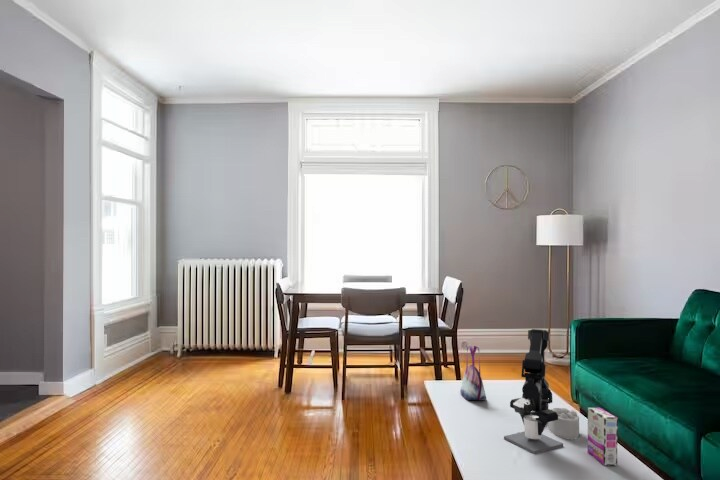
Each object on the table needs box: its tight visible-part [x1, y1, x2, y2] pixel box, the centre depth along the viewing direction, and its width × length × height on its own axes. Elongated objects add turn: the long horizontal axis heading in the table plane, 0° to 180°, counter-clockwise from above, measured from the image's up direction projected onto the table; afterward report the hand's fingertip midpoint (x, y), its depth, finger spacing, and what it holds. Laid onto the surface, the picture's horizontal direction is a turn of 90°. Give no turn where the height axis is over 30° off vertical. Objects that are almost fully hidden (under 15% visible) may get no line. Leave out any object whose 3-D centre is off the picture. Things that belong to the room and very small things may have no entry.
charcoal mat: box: [503, 430, 564, 455], centre depth 183 cm, size 15×15×1 cm
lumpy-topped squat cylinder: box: [547, 407, 580, 440], centre depth 193 cm, size 10×13×9 cm
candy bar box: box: [586, 406, 619, 467], centre depth 170 cm, size 11×5×16 cm, turn 4°
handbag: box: [459, 345, 487, 401], centre depth 238 cm, size 21×10×25 cm, turn 6°
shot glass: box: [523, 414, 541, 439], centre depth 184 cm, size 7×7×7 cm
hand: (533, 432), depth 184 cm, fingers closed on shot glass, 6 cm apart
